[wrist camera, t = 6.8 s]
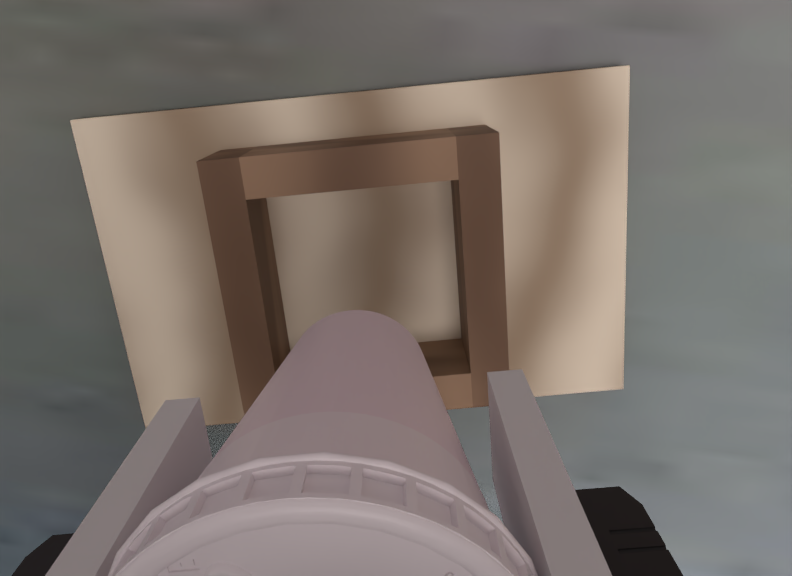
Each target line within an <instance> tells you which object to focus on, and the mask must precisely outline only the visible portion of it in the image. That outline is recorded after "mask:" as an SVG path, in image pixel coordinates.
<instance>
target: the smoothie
mask: <svg viewBox="0 0 792 576" xmlns="http://www.w3.org/2000/svg"><path fill="white" fill-rule="evenodd" d="M108 576H538V574H537V571H536V569H535V566H534V564H533V561H532V559H531V557H530V556H529V555H528V554H527V552H526V551H525V550H524V549H523V548H522V546H521V545H520V544H519V543H518V541H517V540H516V539H515V538H514V536H513V535H512V534H511V533H510V532H509V530H508V529H507V528H506V527H505V525H504V524H503V523H502V522H501V520H500V519H499V518H498V517H497V516H496V515H495V514H493V513H492V512H490V511H489V508H488V506H487V503H486V501H485V498H484V496H483V494H482V492H481V491H480V488H479V486H478V484H477V481H476V479H475V477H474V474H473V472H472V469H471V467H470V465H469V462H468V460H467V457H466V455H465V453H464V450H463V448H462V446H461V443H460V441H459V438H458V436H457V434H456V431H455V429H454V427H453V424H452V422H451V419H450V417H449V415H448V412H447V410H446V407H445V405H444V403H443V400H442V398H441V396H440V393H439V391H438V388H437V386H436V384H435V381H434V379H433V376H432V374H431V372H430V369H429V367H428V365H427V362H426V360H425V357H424V355H423V353H422V350H421V348H420V346H419V344H418V343H417V341H416V340H415V338H414V337H413V336H412V334H411V333H410V332H409V331H408V330H407V329H406V328H405V327H403V326H402V325H401V324H400V323H398V322H397V321H395V320H393V319H391V318H390V317H387V316H385V315H382V314H379V313H376V312H372V311H365V310H348V311H342V312H338V313H334V314H331V315H329V316H327V317H324V318H322V319H321V320H319V321H317V322H316V323H315V324H313V325H312V326H311V327H310V328H308V329H307V330H306V332H305V333H304V334H303V335H302V336H301V338H300V339H299V340H298V342H297V343H296V344H295V346H294V347H293V349H292V350H291V351H290V353H289V354H288V356H287V357H286V358H285V360H284V361H283V363H282V364H281V365H280V367H279V368H278V369H277V371H276V372H275V374H274V375H273V376H272V378H271V379H270V381H269V382H268V383H267V385H266V386H265V387H264V389H263V390H262V392H261V393H260V394H259V396H258V397H257V399H256V400H255V401H254V403H253V404H252V406H251V407H250V408H249V410H248V411H247V412H246V414H245V415H244V417H243V418H242V419H241V421H240V422H239V424H238V425H237V426H236V428H235V429H234V430H233V432H232V433H231V435H230V436H229V437H228V439H227V440H226V442H225V443H224V444H223V446H222V447H221V448H220V450H219V451H218V453H217V454H216V455H215V457H214V458H213V460H212V461H211V462H210V463H209V464H208V466H207V467H206V468H205V469H204V471H203V472H202V473H201V475H200V476H199V478H198V479H197V480H196V481H194V482H193V483H191V484H190V485H188V486H187V487H185V488H184V489H182V490H181V491H179V492H178V493H176V494H175V495H173V496H172V497H170V498H169V499H167V500H166V501H164V502H163V503H161V504H160V505H158V506H157V507H155V508H154V509H152V510H151V511H150V512H149V514H148V515H147V516H146V517H145V518H144V520H143V521H142V522H141V523H140V525H139V526H138V527H137V528H136V529H135V531H134V532H133V533H132V534H131V535H130V537H129V538H128V539H127V540H126V542H125V543H124V544H123V545H122V546H121V548H120V549H119V550H118V551H117V553H116V556H115V558H114V561H113V564H112V566H111V569H110V572H109V574H108Z"/></svg>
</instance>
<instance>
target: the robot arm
mask: <svg viewBox="0 0 792 576" xmlns="http://www.w3.org/2000/svg"><path fill="white" fill-rule="evenodd" d="M487 379H488V398H489V417H490V435H491V454H492V473H493V482H494V486H495V490H496V494H497V498H498V502H499V506H500V510H501V514H502V519H503V523H504V525H505V527H506V528H507V529H508V530H509V532H510V533H511V534H512V535H513V536H514V538H515V539H516V540H517V541H518V543H519V544H520V545H521V546H522V548H523V549H524V550H525V551H526V552H527V554H528V555H529V556H530V557H531V559H532V561H533V564H534V566H535V569H536V571H537V574H538V576H683V575H682V573H681V571H680V569H679V568H678V566H677V564H676V562H675V561H674V559H673V557H672V556H671V554H670V552H669V550H666V545H665V543H664V542H663V540H662V538H661V536H660V535H659V533H658V531H656V530H655V526H654V524H653V523H652V521H651V519H650V517H649V516H648V514H647V512H646V510H645V509H644V507H643V505H642V504H641V503H640V502H638V501H637V500H636V499H634V498H633V497H632V496H631V495H629V494H628V493H627V492H626V491H624V490H623V489H622V488H620V487H619V486H618V487H606V488H594V489H582V490H575V489H574V487H573V485H572V482H571V480H570V478H569V475H568V473H567V471H566V469H565V466H564V464H563V462H562V459H561V457H560V455H559V452H558V450H557V448H556V446H555V443H554V441H553V439H552V436H551V434H550V432H549V430H548V427H547V425H546V423H545V420H544V418H543V416H542V413H541V411H540V409H539V407H538V404H537V402H536V400H535V397H534V395H533V393H532V391H531V388H530V386H529V384H528V381H527V379H526V377H525V375H524V372H523V370H522V369H519V370H507V371H496V372H487ZM212 460H213V458H212V453H211V449H210V444H209V439H208V434H207V430H206V425H205V420H204V416H203V411H202V406H201V401H200V397H198V398H186V399H175V400H165V402H164V403H163V405H162V406H161V407H160V409H159V410H158V412H157V413H156V415H155V416H154V418H153V419H152V421H151V422H150V424H149V425H148V426H147V428H146V429H145V431H144V432H143V434H142V435H141V437H140V438H139V440H138V441H137V442H136V444H135V445H134V447H133V448H132V450H131V451H130V453H129V454H128V456H127V457H126V459H125V460H124V461H123V463H122V464H121V466H120V467H119V469H118V470H117V472H116V473H115V475H114V476H113V477H112V479H111V480H110V482H109V483H108V485H107V486H106V488H105V489H104V491H103V492H102V493H101V495H100V496H99V498H98V499H97V501H96V502H95V504H94V505H93V507H92V508H91V510H90V511H89V512H88V514H87V515H86V517H85V518H84V520H83V521H82V523H81V524H80V526H79V527H78V528H77V530H76V531H75V533H74V534H62V535H53V536H51V537H50V538H49V539H48V540H46V541H45V542H44V543H43V544H41V545H40V546H39V547H38V548H36V549H35V550H34V551H33V552H31V553H30V554H29V555H28V556H26V557H25V559H24V560H23V561H22V563H21V564H20V565H19V567H18V568H17V569H16V571H15V572H14V573H13V575H12V576H108V574H109V572H110V569H111V566H112V564H113V561H114V558H115V556H116V553H117V551H118V550H119V549H120V548H121V546H122V545H123V544H124V543H125V542H126V540H127V539H128V538H129V537H130V535H131V534H132V533H133V532H134V531H135V529H136V528H137V527H138V526H139V525H140V523H141V522H142V521H143V520H144V518H145V517H146V516H147V515H148V514H149V512H150V511H151V510H152V509H154V508H155V507H157V506H158V505H160V504H161V503H163V502H164V501H166V500H167V499H169V498H170V497H172V496H173V495H175V494H176V493H178V492H179V491H181V490H182V489H184V488H185V487H187V486H188V485H190V484H191V483H193V482H194V481H196V480H197V479H198V478H199V476H200V475H201V473H202V472H203V471H204V469H205V468H206V467H207V466H208V464H209V463H210V462H211V461H212Z"/></svg>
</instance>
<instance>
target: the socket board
mask: <svg viewBox="0 0 792 576" xmlns="http://www.w3.org/2000/svg"><path fill="white" fill-rule="evenodd" d="M629 79H630V65H625V66H612V67H602V68H591V69H581V70H571V71H561V72H551V73H540V74H530V75H520V76H510V77H500V78H489V79H479V80H469V81H459V82H448V83H438V84H428V85H418V86H408V87H397V88H387V89H377V90H367V91H356V92H346V93H336V94H326V95H316V96H305V97H295V98H285V99H275V100H264V101H254V102H244V103H234V104H224V105H213V106H203V107H193V108H183V109H173V110H162V111H152V112H142V113H132V114H121V115H111V116H101V117H91V118H81V119H74V120H70V122H71V126H72V131H73V135H74V139H75V143H76V147H77V151H78V155H79V159H80V163H81V167H82V171H83V175H84V179H85V184H86V188H87V192H88V196H89V200H90V204H91V208H92V212H93V216H94V220H95V224H96V228H97V232H98V236H99V241H100V245H101V249H102V253H103V257H104V261H105V265H106V269H107V273H108V277H109V281H110V285H111V289H112V293H113V298H114V302H115V306H116V310H117V314H118V318H119V322H120V326H121V330H122V334H123V338H124V342H125V346H126V350H127V355H128V359H129V363H130V367H131V371H132V375H133V379H134V383H135V387H136V391H137V395H138V399H139V403H140V408H141V412H142V416H143V420H144V424H145V428H147V426H148V425H149V424H150V422H151V421H152V419H153V418H154V416H155V415H156V413H157V412H158V410H159V409H160V407H161V406H162V405H163V403H164V402H165V400H175V399H186V398H198V397H200V401H201V406H202V411H203V416H204V420H205V425H206V426H207V425H218V424H229V423H239V422H240V421H241V419H242V418H243V417H244V415H245V414H246V412H247V411H248V410H249V408H250V407H251V406H252V404H253V403H254V401H255V400H256V399H257V397H258V396H259V394H260V393H261V392H262V390H263V389H264V387H265V386H266V385H267V383H268V382H269V381H270V379H271V378H272V376H273V375H274V374H275V372H276V371H277V369H278V368H279V367H280V365H281V364H282V363H283V361H284V360H285V358H286V357H287V356H288V354H289V353H290V351H291V350H292V349H293V347H294V346H295V344H296V343H297V342H298V340H299V339H300V338H301V336H302V335H303V334H304V333H305V332H306V330H307V329H308V328H310V327H311V326H312V325H313V324H315V323H316V322H317V321H319V320H321V319H322V318H324V317H327V316H329V315H331V314H334V313H338V312H342V311H348V310H365V311H372V312H376V313H379V314H382V315H385V316H387V317H390V318H391V319H393V320H395V321H397V322H398V323H400V324H401V325H402V326H403V327H405V328H406V329H407V330H408V331H409V332H410V333H411V334H412V336H413V337H414V338H415V340H416V341H417V343H418V344H419V346H420V348H421V350H422V353H423V355H424V357H425V360H426V362H427V365H428V367H429V369H430V372H431V374H432V376H433V379H434V381H435V384H436V386H437V388H438V391H439V393H440V396H441V398H442V400H443V403H444V405H445V407H446V410H449V409H461V408H472V407H483V406H489V398H488V379H487V372H496V371H507V370H519V369H522V370H523V372H524V375H525V377H526V379H527V381H528V384H529V386H530V388H531V391H532V393H533V395H534V397H537V396H548V395H559V394H571V393H582V392H594V391H605V390H616V389H623V378H624V328H625V279H626V229H627V179H628V129H629Z"/></svg>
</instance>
